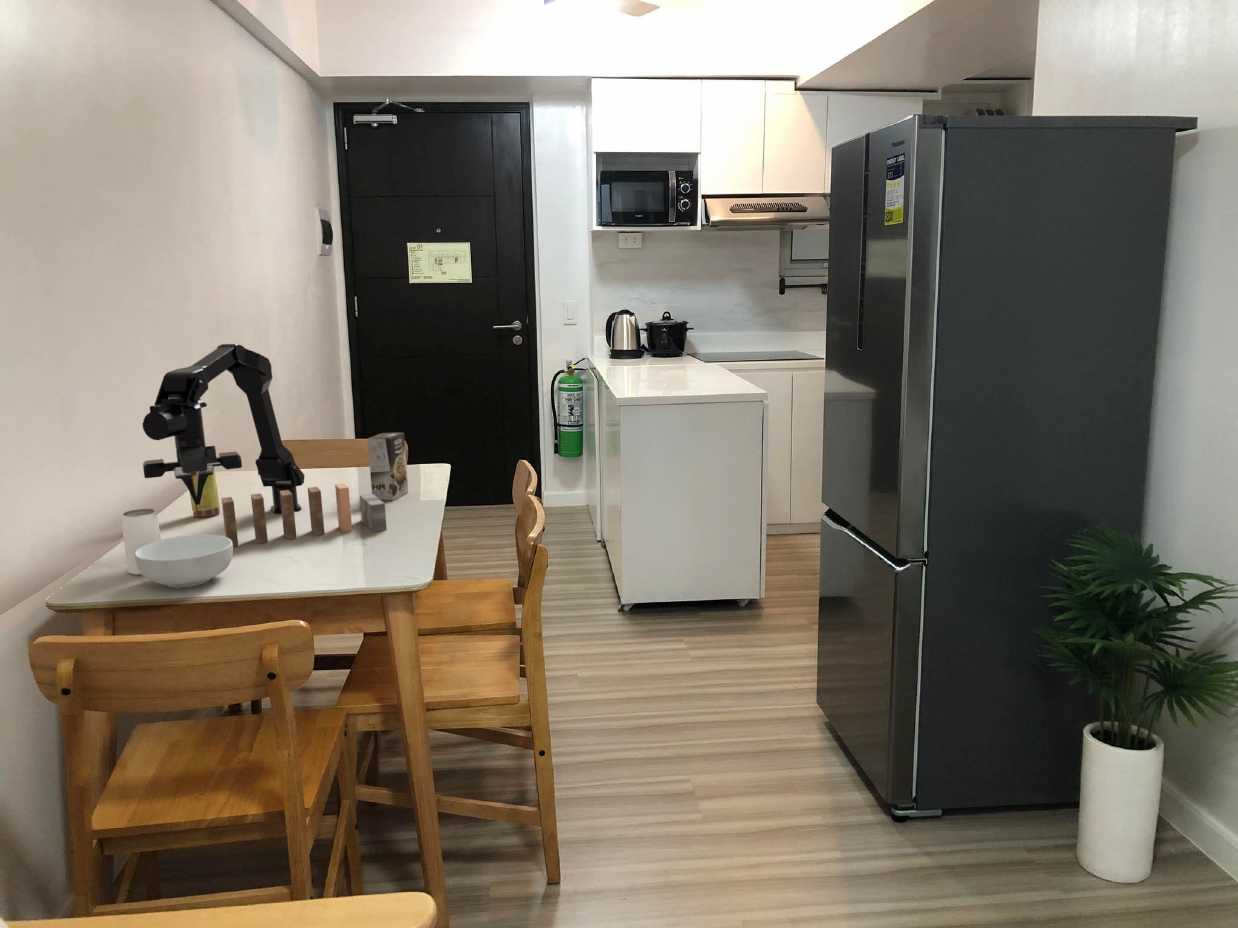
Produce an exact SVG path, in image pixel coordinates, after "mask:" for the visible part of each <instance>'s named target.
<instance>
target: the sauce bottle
mask: <svg viewBox="0 0 1238 928" xmlns="http://www.w3.org/2000/svg"><path fill="white" fill-rule="evenodd" d="M212 470H213V475H209V476H208V478H207V480H206V482H205V485H204V488H203V492H202V497H201V501H200V505H196V504H195V502H194V500H193V498H192V496H191V494H190V493H189V497H190V503H191V510H192V514H193V517H195V518H209V517H214V516H217V515H219V514H220V513H221V512H220V508H221V505H220V500H219V499H220V498H219V492H218V485H217V478H216V472H215V466H214V467H213V468H212ZM190 474H191V478H192V482H193V485H194V489H195V493H196V496H197V471H195V472H190Z"/></svg>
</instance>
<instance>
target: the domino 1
mask: <svg viewBox="0 0 1238 928" xmlns="http://www.w3.org/2000/svg"><path fill="white" fill-rule="evenodd" d="M220 500H221V505H222V516H223V523H224V535H225V537H227V538H229V539H230V540H231V541H232V543H233V549H235V548H239V538H238V530H237V529H238V528H237V521H236V519H237V518H236V512H235V511H236V510H235V502H234V500H233V498H232V496H228V497H226V496H225V497H222V498H221V499H220Z"/></svg>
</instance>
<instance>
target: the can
mask: <svg viewBox="0 0 1238 928" xmlns="http://www.w3.org/2000/svg"><path fill="white" fill-rule="evenodd" d="M121 527H122V529H121V530H122V536H123V544H124V552H125V558H126V566H127V567H126V568H127V571H128V573H131V574H130V575H132V574H141V573H140V572H139V570H138V568H137V565H136V560H135V552H136V551H137V550H138V549H139V548H140V547H142V546H144V545H147V544H149V543H152V542H155V541H159V540H162V538H161V532H160V530H161V529H160V525H159V517H158V516H157V514H156V513H155V509H153V508H140V509H139V508H137V509H132V510H131V509H130V510H128V511H125V512H123V513H122V519H121Z"/></svg>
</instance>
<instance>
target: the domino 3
mask: <svg viewBox="0 0 1238 928" xmlns="http://www.w3.org/2000/svg"><path fill="white" fill-rule="evenodd" d="M280 501H281V511H282V512H281V520H282V528H283V536H284V537H285V538H286V541H288V540H296V539H297V538H298V536H297V530H296V516H295V511H294V505H293V495H292V493H291V492H290V491H289V490H285V491H280Z"/></svg>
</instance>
